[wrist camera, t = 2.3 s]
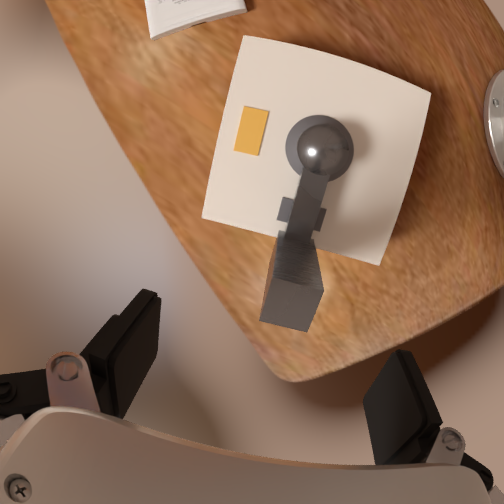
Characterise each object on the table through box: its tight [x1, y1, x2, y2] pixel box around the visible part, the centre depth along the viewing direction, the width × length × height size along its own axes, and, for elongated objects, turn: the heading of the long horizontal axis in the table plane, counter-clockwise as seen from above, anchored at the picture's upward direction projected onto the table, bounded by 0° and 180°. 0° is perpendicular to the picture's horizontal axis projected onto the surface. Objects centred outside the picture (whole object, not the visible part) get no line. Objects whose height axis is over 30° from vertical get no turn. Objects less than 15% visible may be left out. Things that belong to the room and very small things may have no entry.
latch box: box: [202, 35, 431, 265], centre depth 20 cm, size 13×13×4 cm
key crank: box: [259, 124, 349, 332], centre depth 15 cm, size 10×3×7 cm, turn 167°
